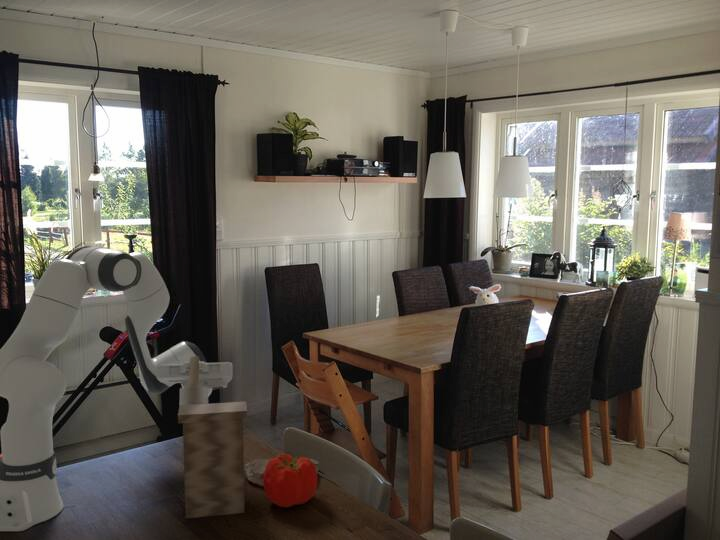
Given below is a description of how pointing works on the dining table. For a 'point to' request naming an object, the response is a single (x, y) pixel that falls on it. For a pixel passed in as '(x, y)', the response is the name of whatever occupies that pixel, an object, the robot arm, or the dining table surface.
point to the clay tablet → (262, 470)
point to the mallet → (193, 387)
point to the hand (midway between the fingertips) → (194, 365)
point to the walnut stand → (213, 458)
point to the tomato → (289, 480)
